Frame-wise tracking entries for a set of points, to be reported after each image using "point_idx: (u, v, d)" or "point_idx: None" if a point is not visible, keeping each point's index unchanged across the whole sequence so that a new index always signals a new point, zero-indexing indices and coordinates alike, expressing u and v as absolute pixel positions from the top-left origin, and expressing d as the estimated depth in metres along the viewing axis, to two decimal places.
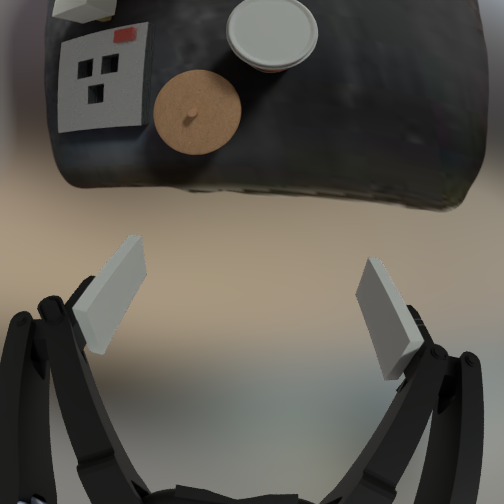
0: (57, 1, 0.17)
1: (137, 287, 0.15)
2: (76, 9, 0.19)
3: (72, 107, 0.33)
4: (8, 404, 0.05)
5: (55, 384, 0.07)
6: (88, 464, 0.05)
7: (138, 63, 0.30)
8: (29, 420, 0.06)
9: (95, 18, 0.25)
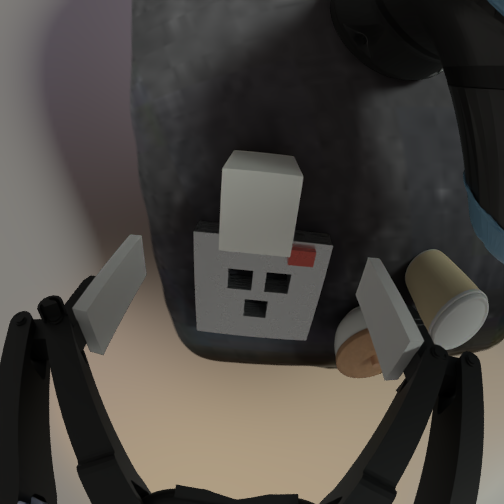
0: (225, 225, 0.23)
1: (137, 287, 0.15)
2: None
3: (220, 313, 0.38)
4: (8, 404, 0.05)
5: (55, 384, 0.07)
6: (88, 464, 0.05)
7: (314, 290, 0.35)
8: (29, 420, 0.06)
9: None
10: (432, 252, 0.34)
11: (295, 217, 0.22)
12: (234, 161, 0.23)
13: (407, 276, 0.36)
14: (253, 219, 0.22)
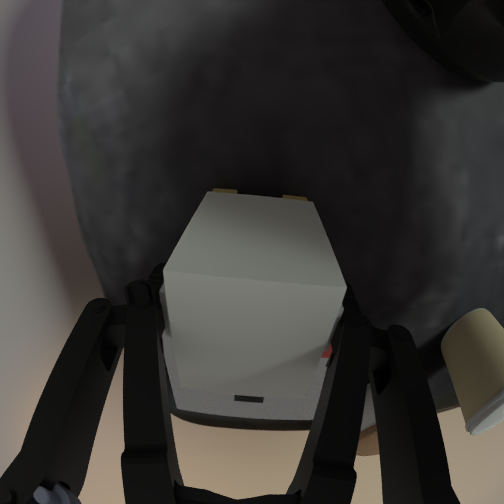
0: (186, 360, 0.11)
1: None
2: None
3: (203, 397, 0.27)
4: (61, 391, 0.07)
5: (125, 368, 0.08)
6: (135, 454, 0.05)
7: None
8: (80, 411, 0.07)
9: None
10: (479, 314, 0.22)
11: (319, 353, 0.11)
12: (197, 235, 0.11)
13: (445, 344, 0.25)
14: (237, 356, 0.11)
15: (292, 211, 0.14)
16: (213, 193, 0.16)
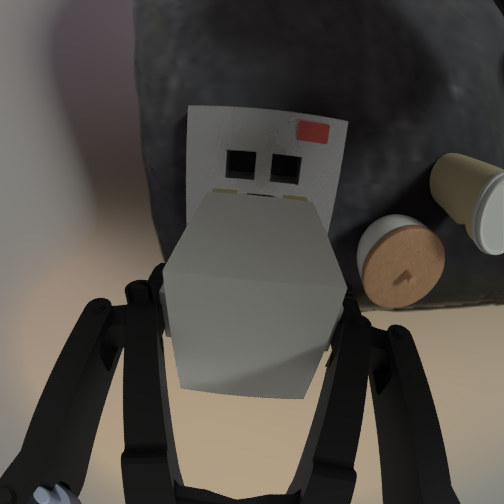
0: (186, 361, 0.11)
1: None
2: None
3: None
4: (61, 391, 0.07)
5: (125, 368, 0.08)
6: (135, 454, 0.05)
7: (329, 181, 0.28)
8: (80, 411, 0.07)
9: None
10: (456, 153, 0.27)
11: (320, 354, 0.11)
12: (197, 235, 0.11)
13: (432, 181, 0.29)
14: (237, 357, 0.11)
15: (292, 211, 0.14)
16: (213, 193, 0.15)
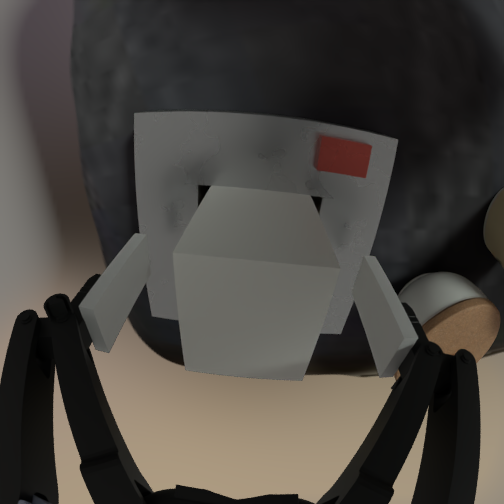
0: (191, 341, 0.12)
1: (142, 285, 0.15)
2: None
3: None
4: (11, 403, 0.05)
5: (60, 382, 0.07)
6: (92, 463, 0.05)
7: (363, 234, 0.18)
8: (32, 419, 0.06)
9: None
10: None
11: (317, 333, 0.12)
12: (203, 223, 0.12)
13: (489, 224, 0.19)
14: (240, 336, 0.12)
15: (291, 203, 0.15)
16: (216, 187, 0.16)
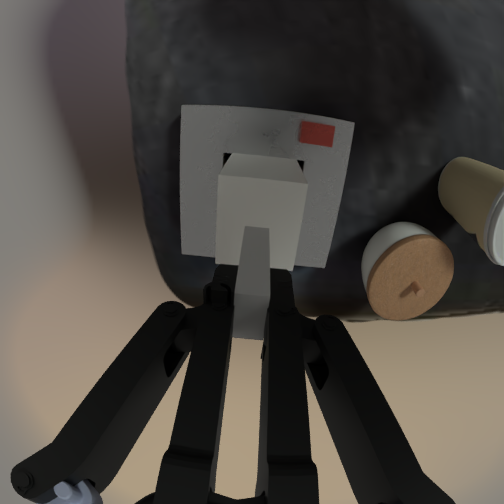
0: (222, 236, 0.21)
1: None
2: None
3: (211, 224, 0.29)
4: (112, 393, 0.07)
5: (189, 367, 0.08)
6: (179, 456, 0.05)
7: (334, 187, 0.26)
8: (128, 415, 0.07)
9: None
10: (466, 158, 0.25)
11: (299, 228, 0.20)
12: (232, 166, 0.21)
13: (441, 186, 0.27)
14: None
15: (283, 162, 0.24)
16: (235, 153, 0.25)
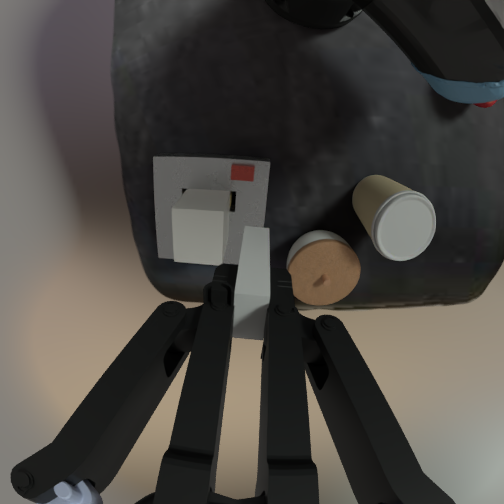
0: (177, 244, 0.33)
1: None
2: None
3: None
4: (112, 393, 0.07)
5: (188, 367, 0.08)
6: (179, 456, 0.05)
7: (259, 208, 0.39)
8: (128, 415, 0.07)
9: None
10: (375, 175, 0.38)
11: (221, 238, 0.33)
12: (182, 201, 0.33)
13: (353, 200, 0.40)
14: (194, 240, 0.33)
15: (218, 194, 0.36)
16: (189, 189, 0.38)
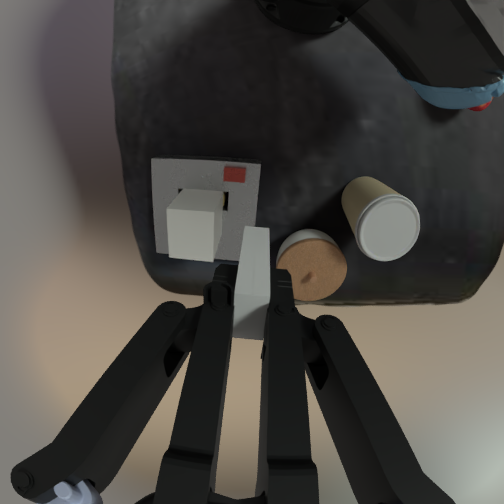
0: (171, 242, 0.36)
1: None
2: None
3: None
4: (112, 393, 0.07)
5: (189, 367, 0.08)
6: (179, 456, 0.05)
7: (250, 207, 0.41)
8: (128, 415, 0.07)
9: None
10: (364, 177, 0.40)
11: (212, 237, 0.35)
12: (177, 201, 0.36)
13: (342, 201, 0.42)
14: (187, 238, 0.35)
15: (212, 194, 0.39)
16: (185, 189, 0.40)
